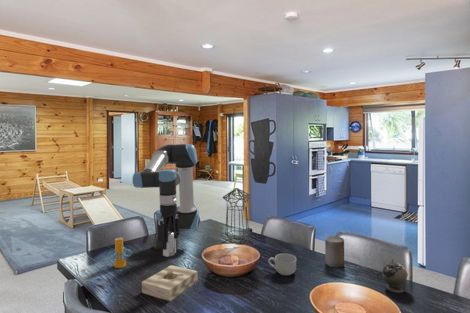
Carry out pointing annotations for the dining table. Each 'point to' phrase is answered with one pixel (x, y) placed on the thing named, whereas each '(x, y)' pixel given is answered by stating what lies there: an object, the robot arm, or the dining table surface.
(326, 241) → the pillar candle
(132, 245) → the dining table surface
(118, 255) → the orange post with rings
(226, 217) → the geometric lantern
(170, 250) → the grey metal peg
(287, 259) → the teacup
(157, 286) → the jig
